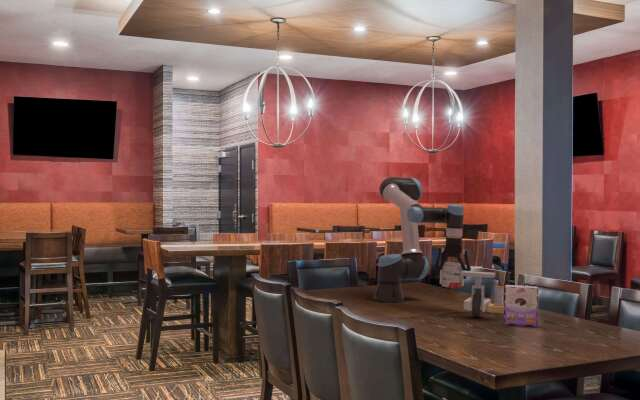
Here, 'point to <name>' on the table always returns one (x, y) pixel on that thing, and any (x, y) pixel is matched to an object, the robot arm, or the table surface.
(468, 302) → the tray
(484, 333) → the table surface
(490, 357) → the table surface
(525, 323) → the candy box
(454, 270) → the ink box
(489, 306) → the pin socket
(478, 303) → the white pedestal stand
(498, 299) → the stop pin
